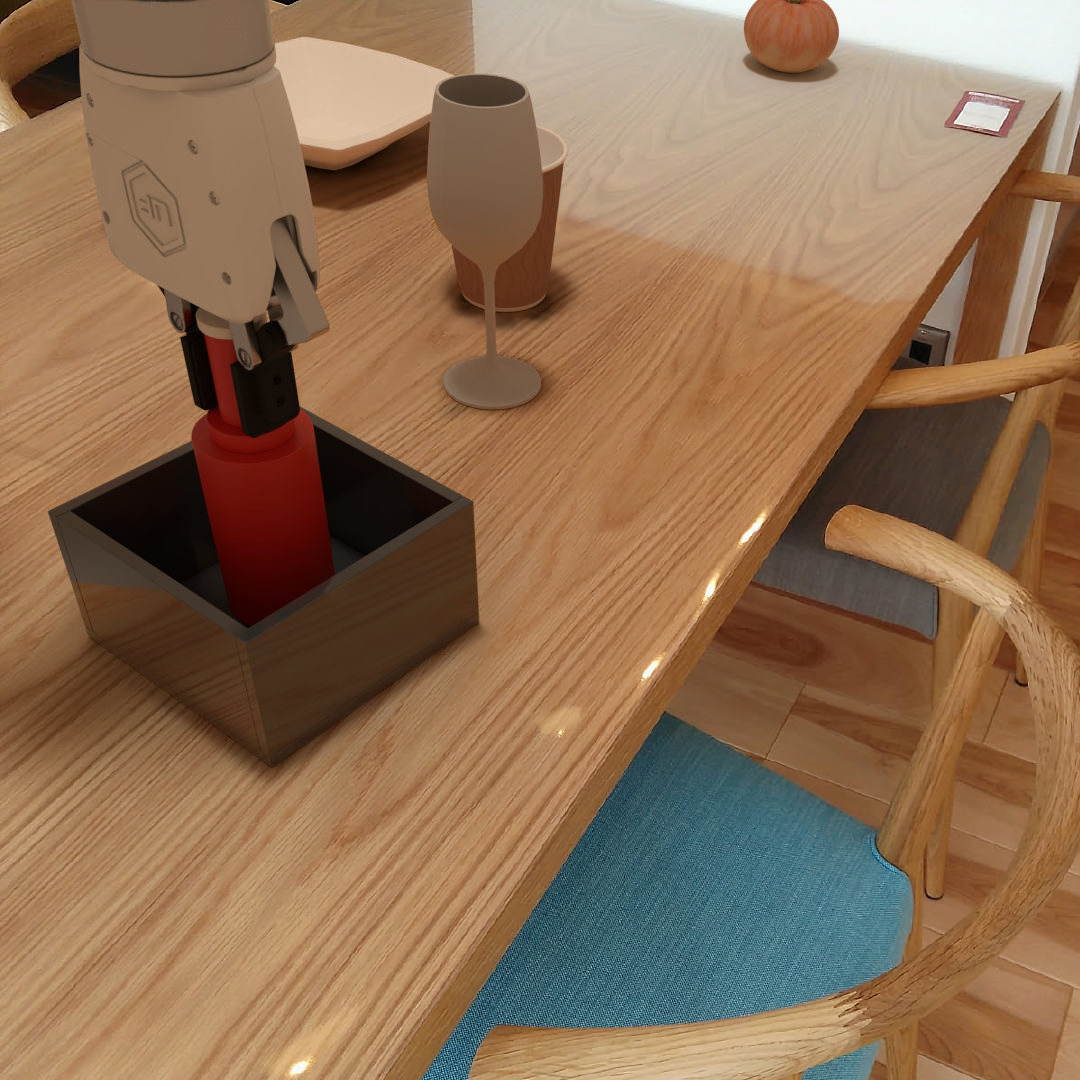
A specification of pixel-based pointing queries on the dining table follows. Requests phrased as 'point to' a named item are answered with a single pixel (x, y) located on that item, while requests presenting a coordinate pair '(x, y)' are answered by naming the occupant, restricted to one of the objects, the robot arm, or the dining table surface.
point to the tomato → (791, 33)
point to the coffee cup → (531, 265)
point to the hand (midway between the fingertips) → (247, 409)
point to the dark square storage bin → (297, 628)
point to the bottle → (259, 494)
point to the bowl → (352, 98)
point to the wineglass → (486, 210)
